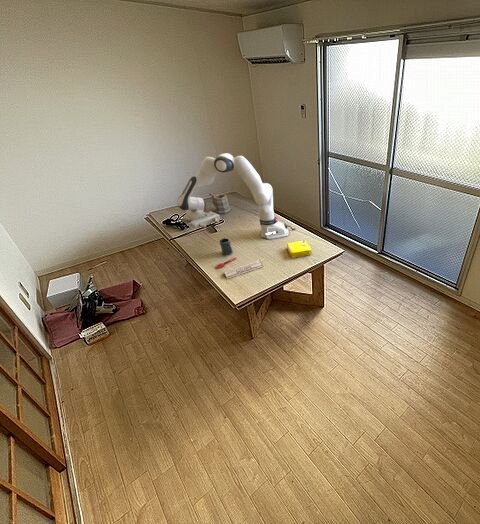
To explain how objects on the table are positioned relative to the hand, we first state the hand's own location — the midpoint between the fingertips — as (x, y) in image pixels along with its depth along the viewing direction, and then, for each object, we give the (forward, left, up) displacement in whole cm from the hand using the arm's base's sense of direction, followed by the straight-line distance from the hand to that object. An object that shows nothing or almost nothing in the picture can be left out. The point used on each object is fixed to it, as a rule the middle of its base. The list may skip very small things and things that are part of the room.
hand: (211, 224), depth 198 cm
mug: (-9, +11, -19) cm, 24 cm away
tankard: (+7, -71, -19) cm, 74 cm away
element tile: (-59, +17, -19) cm, 64 cm away
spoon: (-9, +23, -19) cm, 31 cm away
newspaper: (-21, +34, -19) cm, 44 cm away
